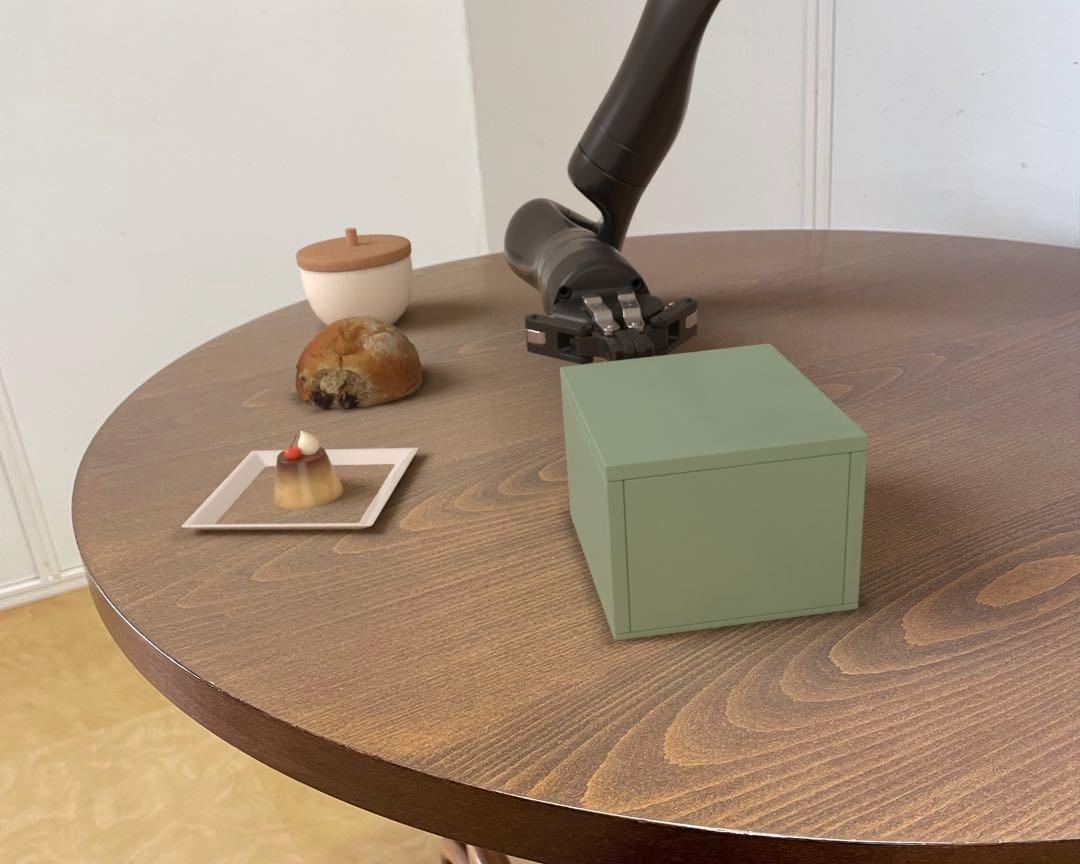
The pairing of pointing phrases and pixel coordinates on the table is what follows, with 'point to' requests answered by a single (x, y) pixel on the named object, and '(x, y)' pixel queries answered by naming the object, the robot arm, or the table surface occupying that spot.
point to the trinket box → (357, 276)
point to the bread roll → (357, 365)
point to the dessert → (301, 483)
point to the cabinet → (712, 490)
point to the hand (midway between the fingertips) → (636, 362)
